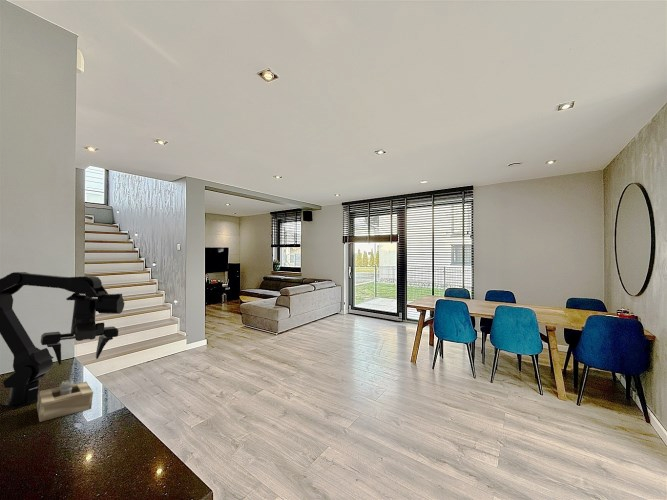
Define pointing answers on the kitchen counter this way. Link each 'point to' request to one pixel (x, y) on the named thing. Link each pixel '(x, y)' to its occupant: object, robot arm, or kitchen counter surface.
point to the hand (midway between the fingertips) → (78, 361)
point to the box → (64, 401)
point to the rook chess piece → (66, 387)
